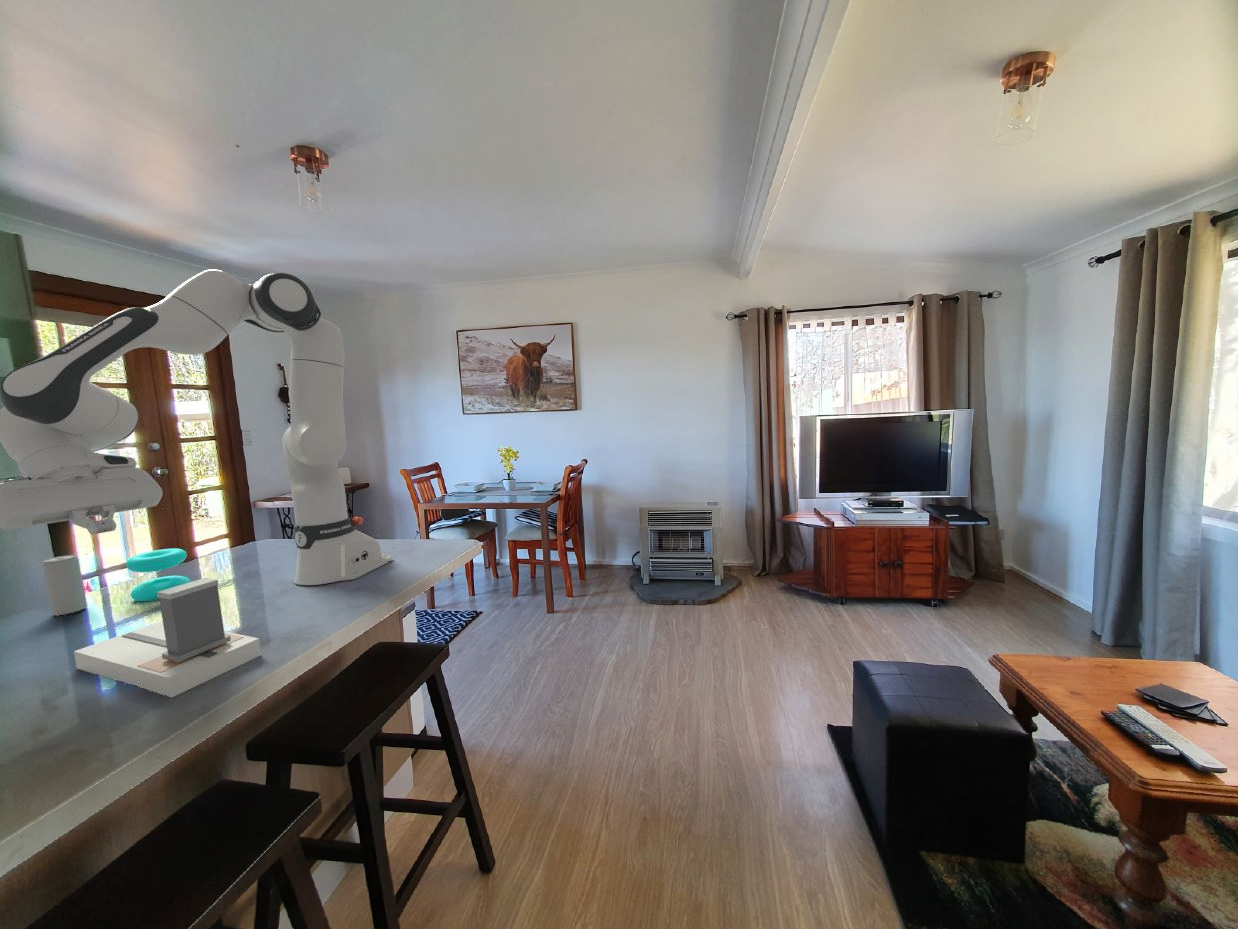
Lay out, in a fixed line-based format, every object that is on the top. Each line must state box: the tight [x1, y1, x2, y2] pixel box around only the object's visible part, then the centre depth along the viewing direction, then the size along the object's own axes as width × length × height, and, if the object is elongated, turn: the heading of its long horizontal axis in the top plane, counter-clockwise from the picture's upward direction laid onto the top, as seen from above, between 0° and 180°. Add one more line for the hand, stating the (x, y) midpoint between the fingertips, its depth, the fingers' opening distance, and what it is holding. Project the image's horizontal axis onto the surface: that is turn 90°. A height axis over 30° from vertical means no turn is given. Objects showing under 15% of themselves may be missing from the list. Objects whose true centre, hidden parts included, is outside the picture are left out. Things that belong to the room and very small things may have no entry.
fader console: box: [73, 620, 262, 699], centre depth 76 cm, size 26×12×3 cm, turn 70°
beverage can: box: [42, 554, 87, 617], centre depth 98 cm, size 5×5×12 cm
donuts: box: [125, 547, 192, 602], centre depth 107 cm, size 10×10×10 cm
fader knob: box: [157, 577, 231, 663], centre depth 72 cm, size 4×7×10 cm, turn 160°
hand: (104, 530), depth 80 cm, fingers closed
